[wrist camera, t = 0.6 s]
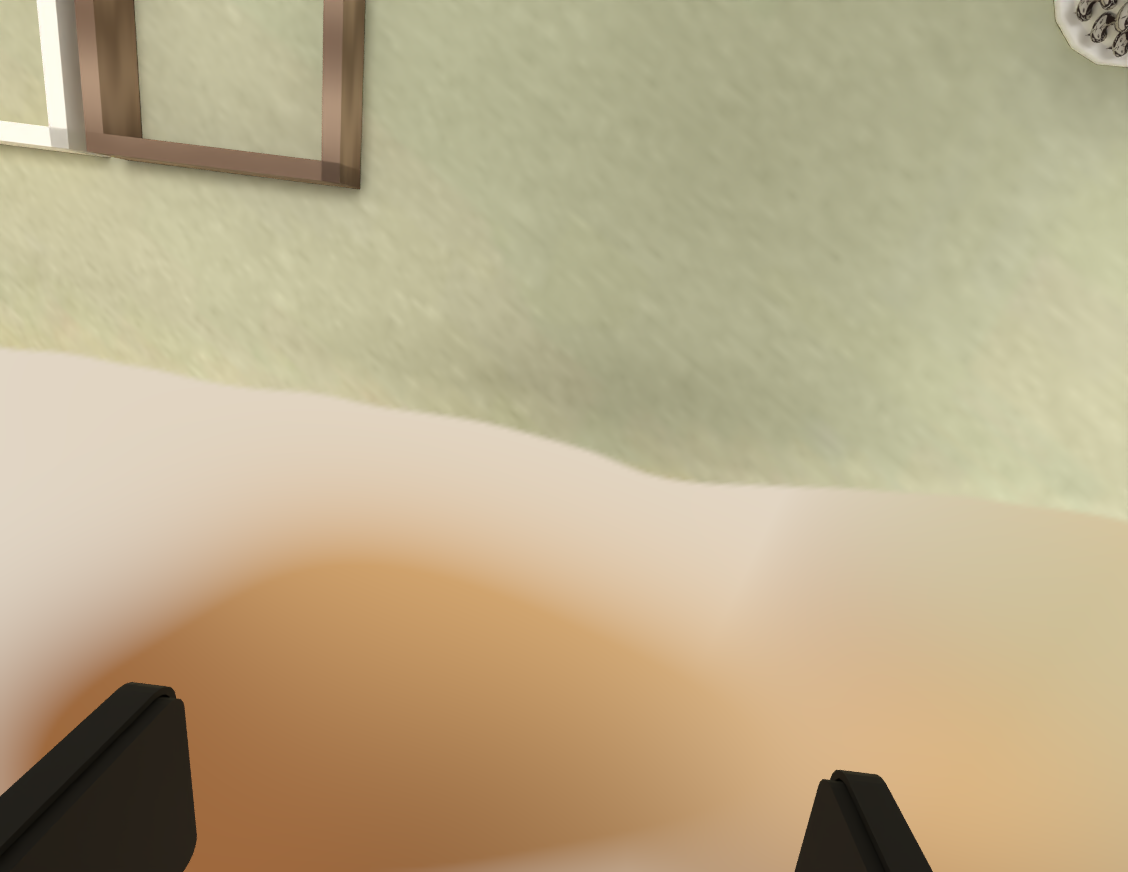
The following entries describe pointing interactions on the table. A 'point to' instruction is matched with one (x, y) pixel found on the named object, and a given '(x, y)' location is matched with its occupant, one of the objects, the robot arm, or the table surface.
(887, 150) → the table surface
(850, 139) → the table surface
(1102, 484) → the table surface
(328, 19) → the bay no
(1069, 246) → the table surface
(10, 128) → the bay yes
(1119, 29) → the decorative candle
